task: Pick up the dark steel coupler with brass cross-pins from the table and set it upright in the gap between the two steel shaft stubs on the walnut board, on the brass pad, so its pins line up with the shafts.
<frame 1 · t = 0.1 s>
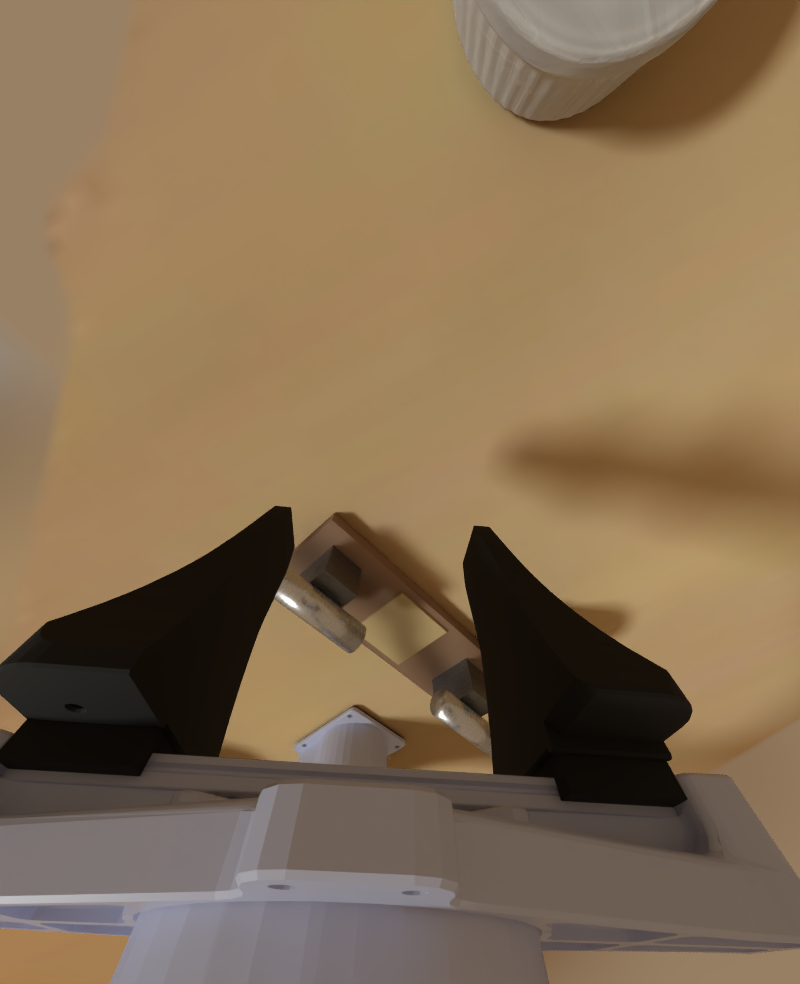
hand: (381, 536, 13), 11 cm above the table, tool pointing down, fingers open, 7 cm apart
shaft board: (399, 618, 28), on the table
shaft stubs: (400, 654, 24), on the shaft board, point 4 cm above the table
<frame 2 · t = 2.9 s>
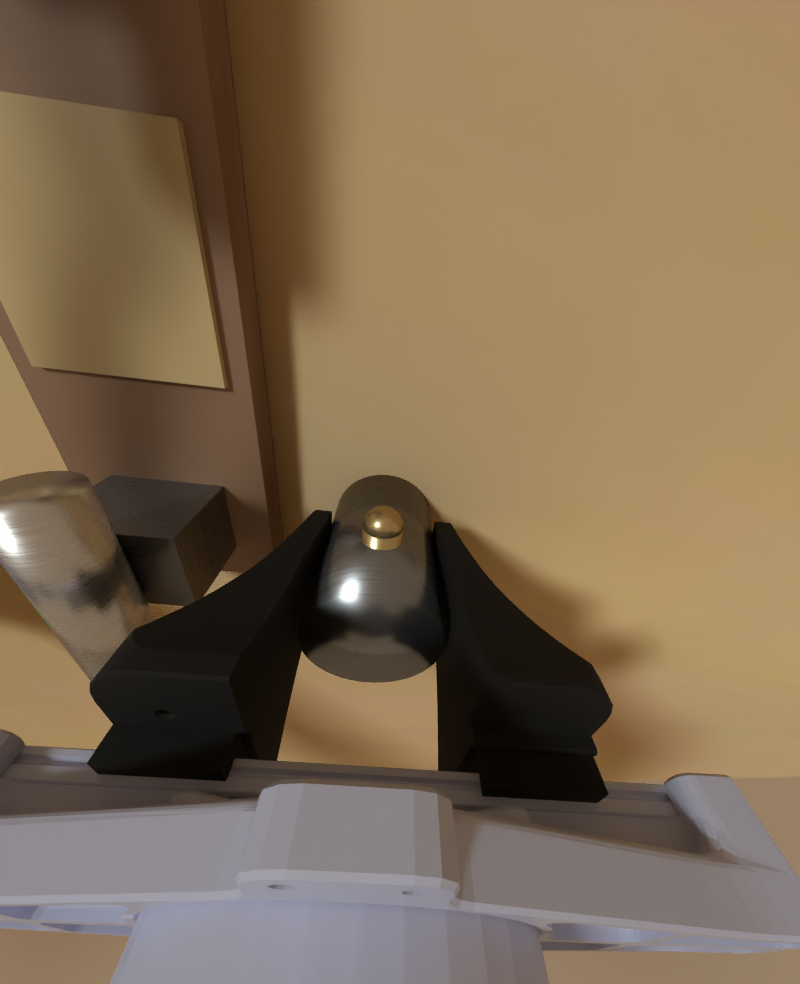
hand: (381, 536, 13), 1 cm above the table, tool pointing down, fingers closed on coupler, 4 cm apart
coupler: (383, 515, 14), on the table, touching gripper
shaft board: (132, 267, 9), on the table
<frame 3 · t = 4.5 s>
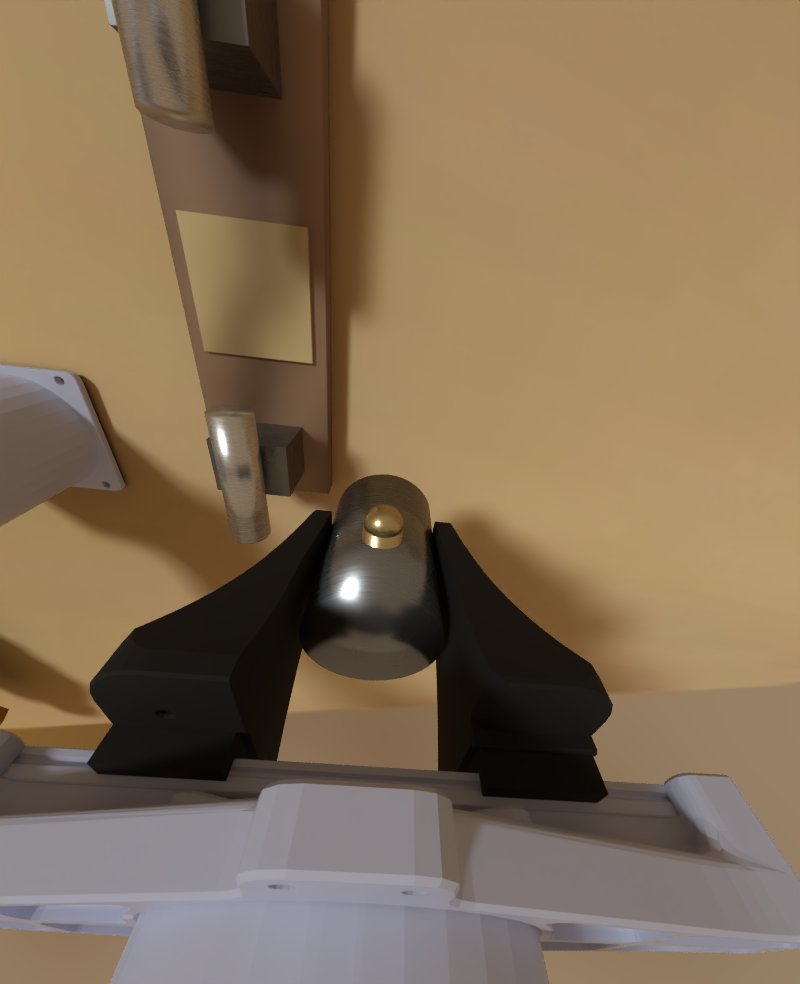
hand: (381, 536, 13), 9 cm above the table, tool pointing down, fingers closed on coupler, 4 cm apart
coupler: (384, 514, 14), point 8 cm above the table, touching gripper
shaft board: (262, 294, 16), on the table
shaft stubs: (227, 294, 13), on the shaft board, point 4 cm above the table
when the fingers open (4 cm above the table, at t = 6.5 s): coupler drops 1 cm, resting on shaft board.
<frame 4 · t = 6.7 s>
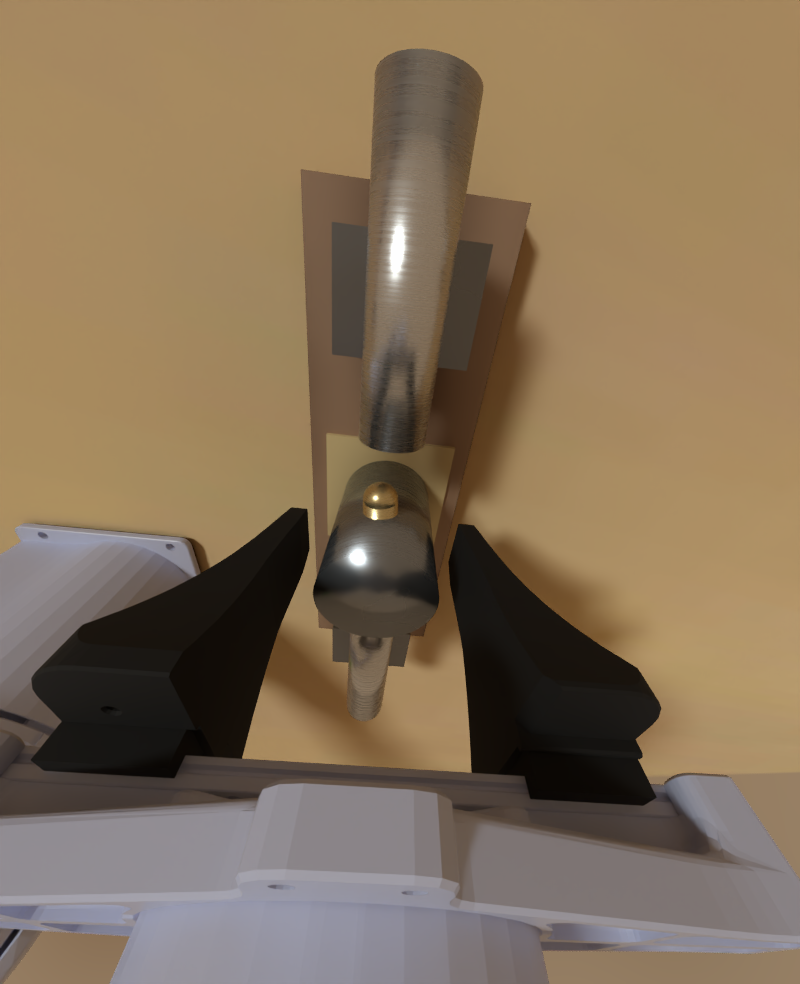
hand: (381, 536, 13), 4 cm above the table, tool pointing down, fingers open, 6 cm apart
coupler: (386, 498, 15), point 1 cm above the table, touching shaft board
shaft board: (387, 481, 16), on the table
shaft stubs: (382, 525, 13), on the shaft board, point 4 cm above the table
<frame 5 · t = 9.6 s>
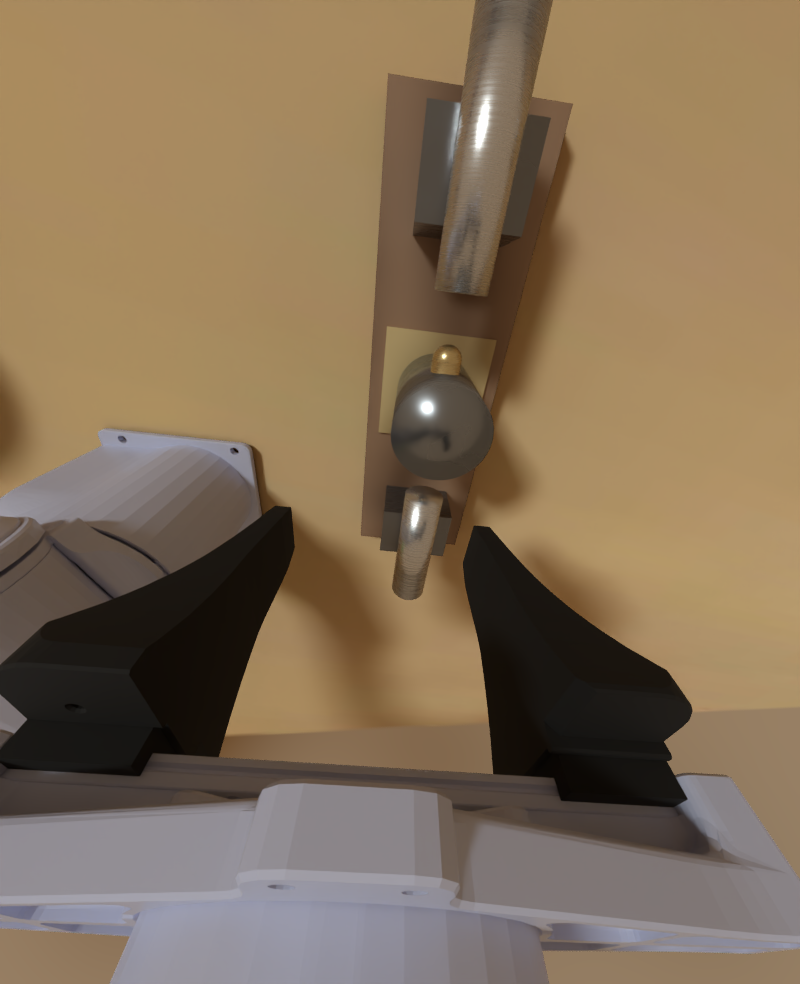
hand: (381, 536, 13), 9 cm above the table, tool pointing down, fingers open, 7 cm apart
coupler: (433, 392, 17), point 1 cm above the table, touching shaft board
shaft board: (431, 383, 19), on the table
shaft stubs: (436, 401, 15), on the shaft board, point 4 cm above the table
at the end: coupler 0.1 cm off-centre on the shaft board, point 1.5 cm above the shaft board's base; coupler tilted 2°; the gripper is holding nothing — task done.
